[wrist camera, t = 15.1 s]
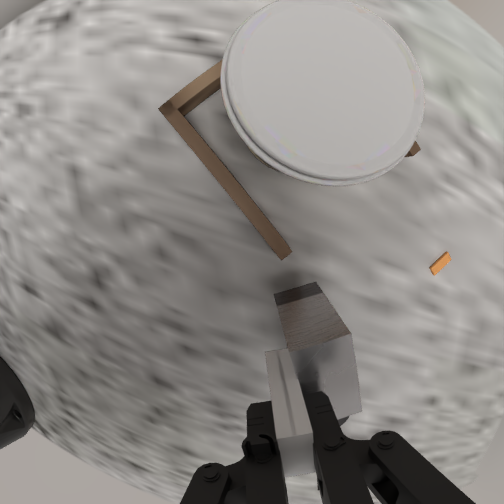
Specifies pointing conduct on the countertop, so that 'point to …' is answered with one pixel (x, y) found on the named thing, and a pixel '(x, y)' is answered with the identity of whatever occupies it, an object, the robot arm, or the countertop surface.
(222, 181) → the brown u-shaped wooden bracket
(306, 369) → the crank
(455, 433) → the countertop surface
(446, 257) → the orange small block
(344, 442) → the robot arm
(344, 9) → the coffee cup
